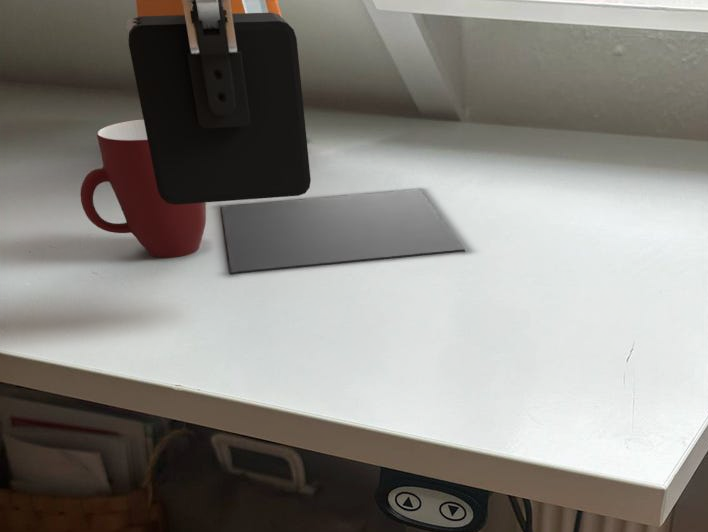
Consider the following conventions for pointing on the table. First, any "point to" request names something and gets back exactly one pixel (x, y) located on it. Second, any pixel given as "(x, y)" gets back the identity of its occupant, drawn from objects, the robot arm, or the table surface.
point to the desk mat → (334, 231)
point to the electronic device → (226, 142)
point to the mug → (141, 195)
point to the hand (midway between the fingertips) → (223, 114)
